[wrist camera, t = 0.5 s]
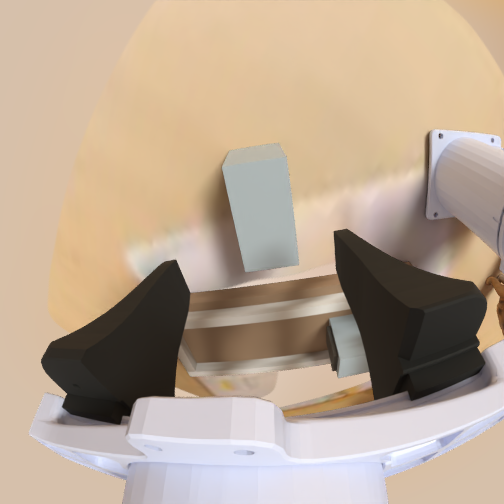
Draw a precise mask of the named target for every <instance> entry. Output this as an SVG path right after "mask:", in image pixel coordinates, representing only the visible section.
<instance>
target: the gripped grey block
mask: <svg viewBox="0 0 504 504" xmlns="http://www.w3.org/2000/svg"><path fill="white" fill-rule="evenodd" d="M222 170H223V175H224V179H225V184H226V188H227V193H228V197H229V202H230V206H231V211H232V215H233V220H234V224H235V229H236V233H237V238H238V242H239V247H240V251H241V255H242V260H243V264H244V269H245V272H253V271H260V270H267V269H274V268H281V267H288V266H295V265H299V258H298V248H297V238H296V229H295V220H294V211H293V203H292V194H291V186H290V179H289V171H288V164H287V157H286V155H285V153H284V151H283V150H282V148H281V146H280V144H279V143H273V144H266V145H260V146H253V147H247V148H241V149H236V150H230V151H229V153H228V155H227V157H226V159H225V161H224V164H223V166H222Z"/></svg>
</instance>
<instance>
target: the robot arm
mask: <svg viewBox="0 0 504 504" xmlns="http://www.w3.org/2000/svg"><path fill="white" fill-rule="evenodd" d="M439 134H441V136H440V138H439ZM429 136H430V154H429V181H428V195H427V206H426V218H428V219H429V220H435V219H443V218H451V217H456V218H457V219H458V220H460V221H461V222H462V223H463V224H464V225H466V226H467V227H468V228H469V229H470V230H471V231H472V232H474V233H475V234H476V235H477V236H478V237H479V238H480V239H481V240H482V241H483V242H484V243H486V244H487V245H488V246H489V247H490V248H491V249H492V250H493V251H494V252H495V253H496V254H497V255H498V256H499V257H500V258H501V264H500V268H499V269H500V270H501V272H502V273H503V274H504V148H502V147H501V138H500V137H499V136H497V135H491V134H484V133H475V132H465V131H454V130H438V129H433V130H431V131H430V135H429ZM491 139H492V140H491ZM435 212H436V214H435V215H434V213H435ZM334 244H335V260H336V271H337V275H338V278H339V282H340V285H341V288H342V290H343V293H344V295H345V297H346V300H347V302H348V304H349V307H350V309H351V311H352V314H353V316H354V319H355V321H356V323H357V326H358V329H359V332H360V335H361V339H362V343H363V346H364V350H365V354H366V359H367V363H368V368H369V372H370V378H371V383H372V388H373V395H374V401H371V402H367V403H363V404H358V405H354V406H350V407H345V408H340V409H335V410H330V411H325V412H319V413H313V414H306V415H299V416H292V417H284V415H283V412H282V410H281V409H280V408H278V407H277V406H276V405H275V404H274V403H272V402H271V401H268V400H264V399H261V398H258V397H254V396H217V397H175V378H176V367H177V358H178V353H179V348H180V344H181V340H182V336H183V332H184V328H185V324H186V320H187V316H188V312H189V304H190V294H191V293H190V291H189V289H188V286H187V284H186V282H185V279H184V277H183V275H182V272H181V270H180V268H179V265H178V263H177V261H176V260H171V261H165V262H163V263H162V264H161V265H159V266H158V267H157V268H156V269H155V270H154V271H153V272H152V273H151V274H150V275H148V276H147V277H146V278H145V279H144V280H143V281H142V282H141V283H140V284H139V285H138V286H137V287H136V288H135V289H134V290H132V291H131V292H130V293H129V294H128V295H127V296H126V297H125V298H124V299H122V300H121V301H120V302H119V303H118V304H116V305H115V306H114V307H113V308H111V309H110V310H109V311H107V312H106V313H105V314H103V315H101V316H100V317H98V318H97V319H95V320H94V321H92V322H91V323H89V324H88V325H86V326H84V327H82V328H80V329H79V330H77V331H75V332H73V333H71V334H69V335H67V336H64V337H62V338H60V339H57V340H55V341H52V342H51V343H50V345H49V346H48V348H47V350H46V352H45V354H44V355H43V358H42V359H41V363H42V366H43V369H44V370H45V372H46V373H47V374H48V375H49V377H50V378H51V379H52V380H53V381H54V382H55V383H56V384H57V385H58V386H59V387H61V388H62V389H63V390H64V391H65V392H66V393H67V395H66V398H65V399H64V398H63V397H61V396H58V395H54V394H50V393H45V394H44V396H43V398H42V401H41V403H40V405H39V408H38V410H37V413H36V415H35V418H34V420H33V423H32V425H31V428H30V431H29V435H30V436H31V437H33V438H34V439H36V440H37V441H39V442H40V443H42V444H43V445H45V446H46V447H48V448H49V449H51V450H52V451H54V452H56V453H57V454H59V455H61V456H62V457H64V458H66V459H68V460H71V461H74V462H76V463H79V464H81V465H83V466H86V467H89V468H92V469H94V470H97V471H99V472H102V473H105V474H108V475H111V476H114V477H117V478H120V479H123V480H126V485H125V491H124V497H123V502H122V504H388V496H387V490H386V484H385V478H386V477H389V476H391V475H394V474H397V473H400V472H402V471H405V470H408V469H410V468H413V467H415V466H418V465H420V464H422V463H425V462H427V461H429V460H432V459H434V458H436V457H438V456H440V455H442V454H444V453H446V452H448V451H450V450H452V449H454V448H456V447H458V446H460V445H462V444H463V443H465V442H467V441H469V440H471V439H472V438H474V437H476V436H477V435H479V434H481V433H482V432H484V431H486V430H487V429H489V428H491V427H492V426H494V425H495V424H497V423H498V422H500V421H502V420H503V419H504V339H503V340H501V341H499V342H498V343H496V344H494V345H492V346H490V347H488V348H486V349H485V350H484V351H483V352H482V353H480V351H479V350H478V348H477V347H478V346H479V344H480V342H479V340H478V338H477V337H476V334H477V332H478V330H479V328H480V326H481V323H482V321H483V319H484V316H485V313H486V310H487V301H486V298H485V297H484V295H483V294H482V293H481V291H480V290H479V289H478V288H477V286H476V285H475V284H474V283H473V282H471V281H465V280H459V279H453V278H448V277H444V276H440V275H436V274H433V273H430V272H427V271H424V270H421V269H418V268H415V267H413V266H410V265H408V264H406V263H404V262H402V261H399V260H397V259H395V258H393V257H391V256H389V255H388V254H386V253H384V252H382V251H381V250H379V249H377V248H376V247H374V246H372V245H371V244H369V243H368V242H366V241H365V240H363V239H362V238H360V237H359V236H357V235H356V234H354V233H353V232H351V231H350V230H348V229H343V230H337V231H334Z"/></svg>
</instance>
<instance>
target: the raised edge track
mask: <svg viewBox="0 0 504 504" xmlns="http://www.w3.org/2000/svg"><path fill="white" fill-rule="evenodd" d="M404 263H406V264H408V265H410V266H412V265H411V263H410V262H404ZM178 357H179V359H180V361H181V362H182V364H183V366H184V367H185V369H186V371H187V372H188V374H189V375H190V377H192V376H223V375H240V374H253V373H264V372H274V371H282V370H291V369H298V368H305V367H312V366H319V365H325V364H330V363H331V366H332V371H336V372H337V376H338V378H341V377H347V376H352V375H357V374H361V373H366V372H369V368H368V363H367V359H366V354H365V350H364V346H363V343H362V339H361V335H360V332H359V329H358V326H357V323H356V321H355V319H354V316H353V314H352V311H351V309H350V307H349V304H348V302H347V300H346V297H345V295H344V293H343V290H342V288H341V285H340V282H339V278H338V275H337V274H332V275H326V276H319V277H313V278H306V279H299V280H292V281H286V282H278V283H271V284H263V285H255V286H248V287H240V288H232V289H223V290H215V291H206V292H197V293H191V294H190V304H189V312H188V316H187V320H186V324H185V328H184V332H183V336H182V340H181V344H180V348H179V353H178Z"/></svg>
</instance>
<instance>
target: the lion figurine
mask: <svg viewBox="0 0 504 504" xmlns="http://www.w3.org/2000/svg"><path fill="white" fill-rule="evenodd" d="M501 282H502V283H503V284H504V275H503V274H501V275H499V277H498V279H497V278H495V277H492V276H490V277H489V278H487V280H486V284H487V285H490V284H491V283H492V284H493V286H494V288H495V290H496V292H497V294H498V295H499V296H500V299H499V303H498V305H497V314H498V318H499V324H500V327H501V329H502V332H503V335H504V285H502V284H501Z"/></svg>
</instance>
